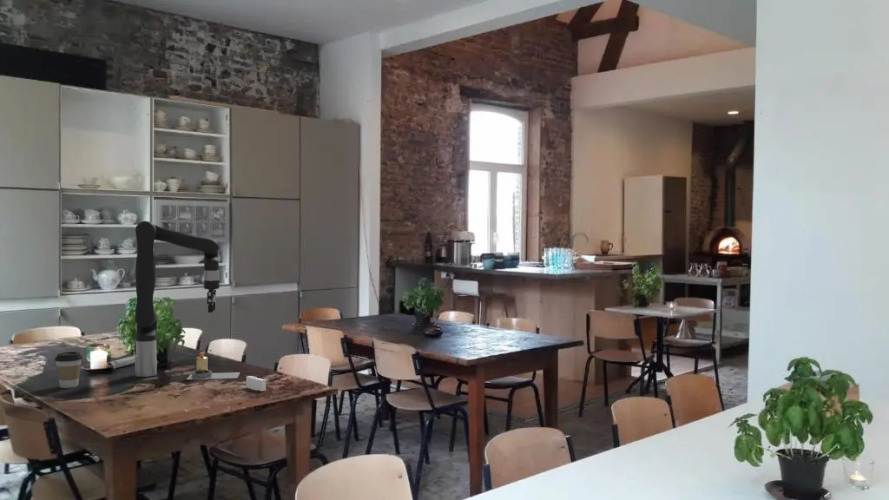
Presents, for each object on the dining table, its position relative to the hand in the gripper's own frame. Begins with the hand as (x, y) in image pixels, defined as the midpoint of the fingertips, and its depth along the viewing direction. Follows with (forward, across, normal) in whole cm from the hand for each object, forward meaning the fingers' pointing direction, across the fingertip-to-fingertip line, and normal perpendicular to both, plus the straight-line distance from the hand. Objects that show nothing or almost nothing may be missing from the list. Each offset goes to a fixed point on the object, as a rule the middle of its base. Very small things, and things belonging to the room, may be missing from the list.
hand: (211, 311), depth 365 cm
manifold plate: (+30, +20, +4) cm, 36 cm away
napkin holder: (+31, +43, +25) cm, 59 cm away
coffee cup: (+30, +26, -59) cm, 71 cm away
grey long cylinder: (+31, -21, -43) cm, 57 cm away
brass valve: (+28, +19, -2) cm, 35 cm away
